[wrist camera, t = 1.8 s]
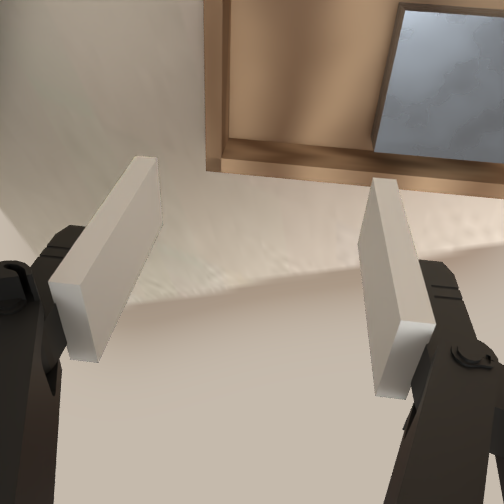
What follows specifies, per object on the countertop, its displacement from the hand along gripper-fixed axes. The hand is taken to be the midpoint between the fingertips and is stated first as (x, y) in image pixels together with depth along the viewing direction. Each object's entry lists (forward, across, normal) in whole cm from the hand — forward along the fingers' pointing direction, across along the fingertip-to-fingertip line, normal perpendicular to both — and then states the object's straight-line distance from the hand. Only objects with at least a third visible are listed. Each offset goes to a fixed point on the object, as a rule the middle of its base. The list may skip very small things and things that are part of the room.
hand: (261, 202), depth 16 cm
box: (+17, +6, 0) cm, 18 cm away
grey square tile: (+16, +10, 0) cm, 19 cm away
